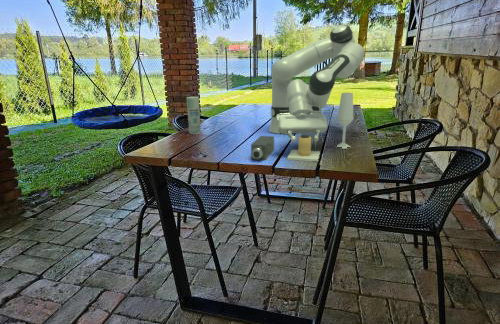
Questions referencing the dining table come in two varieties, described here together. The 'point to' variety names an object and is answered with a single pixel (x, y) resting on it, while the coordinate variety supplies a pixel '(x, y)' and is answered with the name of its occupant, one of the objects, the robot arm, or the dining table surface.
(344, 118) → the champagne flute
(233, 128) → the dining table surface
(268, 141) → the motor housing
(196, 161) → the dining table surface
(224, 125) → the dining table surface
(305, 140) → the yellow cylinder
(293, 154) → the far side pad
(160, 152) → the dining table surface
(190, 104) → the spray can
